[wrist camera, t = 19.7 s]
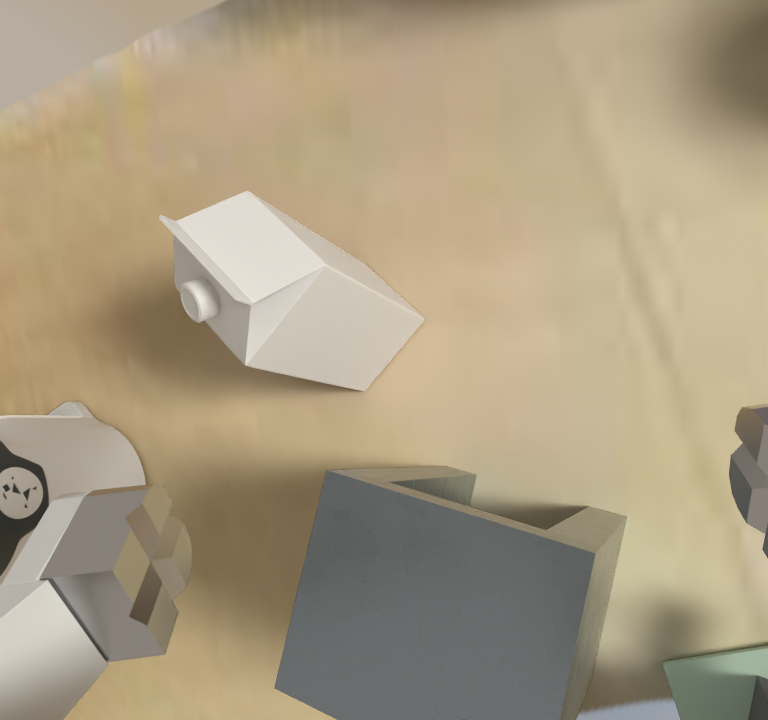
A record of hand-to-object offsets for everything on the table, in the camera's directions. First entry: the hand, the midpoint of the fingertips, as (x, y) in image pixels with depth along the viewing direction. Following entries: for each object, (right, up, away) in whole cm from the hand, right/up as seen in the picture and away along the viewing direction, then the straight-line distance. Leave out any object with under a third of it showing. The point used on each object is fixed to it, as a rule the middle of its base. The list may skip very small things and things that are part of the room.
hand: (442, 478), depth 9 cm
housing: (+8, -12, +33) cm, 36 cm away
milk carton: (-2, +4, +40) cm, 40 cm away
